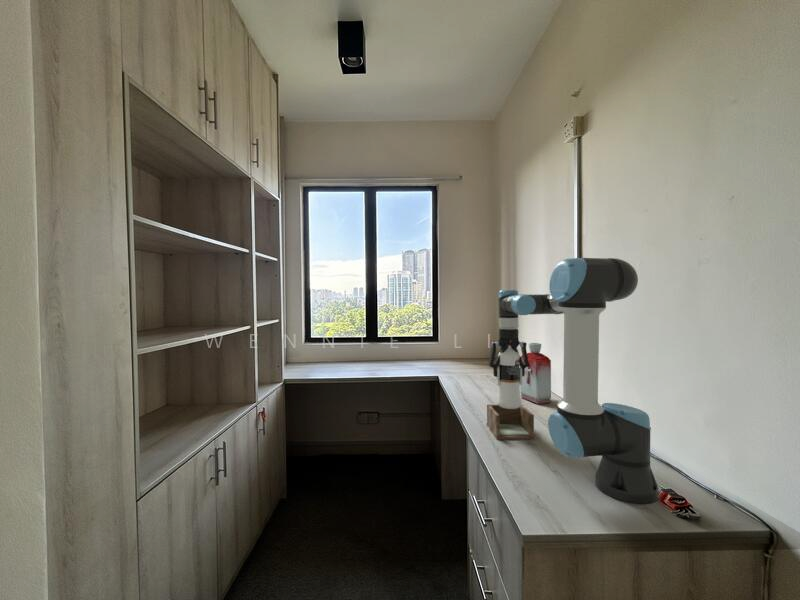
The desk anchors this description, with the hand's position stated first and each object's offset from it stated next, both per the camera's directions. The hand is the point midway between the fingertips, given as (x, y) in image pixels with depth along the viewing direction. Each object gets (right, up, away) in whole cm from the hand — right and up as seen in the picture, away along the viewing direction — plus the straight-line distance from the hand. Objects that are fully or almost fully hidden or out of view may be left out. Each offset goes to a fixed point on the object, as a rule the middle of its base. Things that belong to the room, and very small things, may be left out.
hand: (509, 384), depth 149 cm
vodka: (0, -9, 0) cm, 9 cm away
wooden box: (0, -19, 0) cm, 19 cm away
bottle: (+27, -19, +44) cm, 55 cm away
